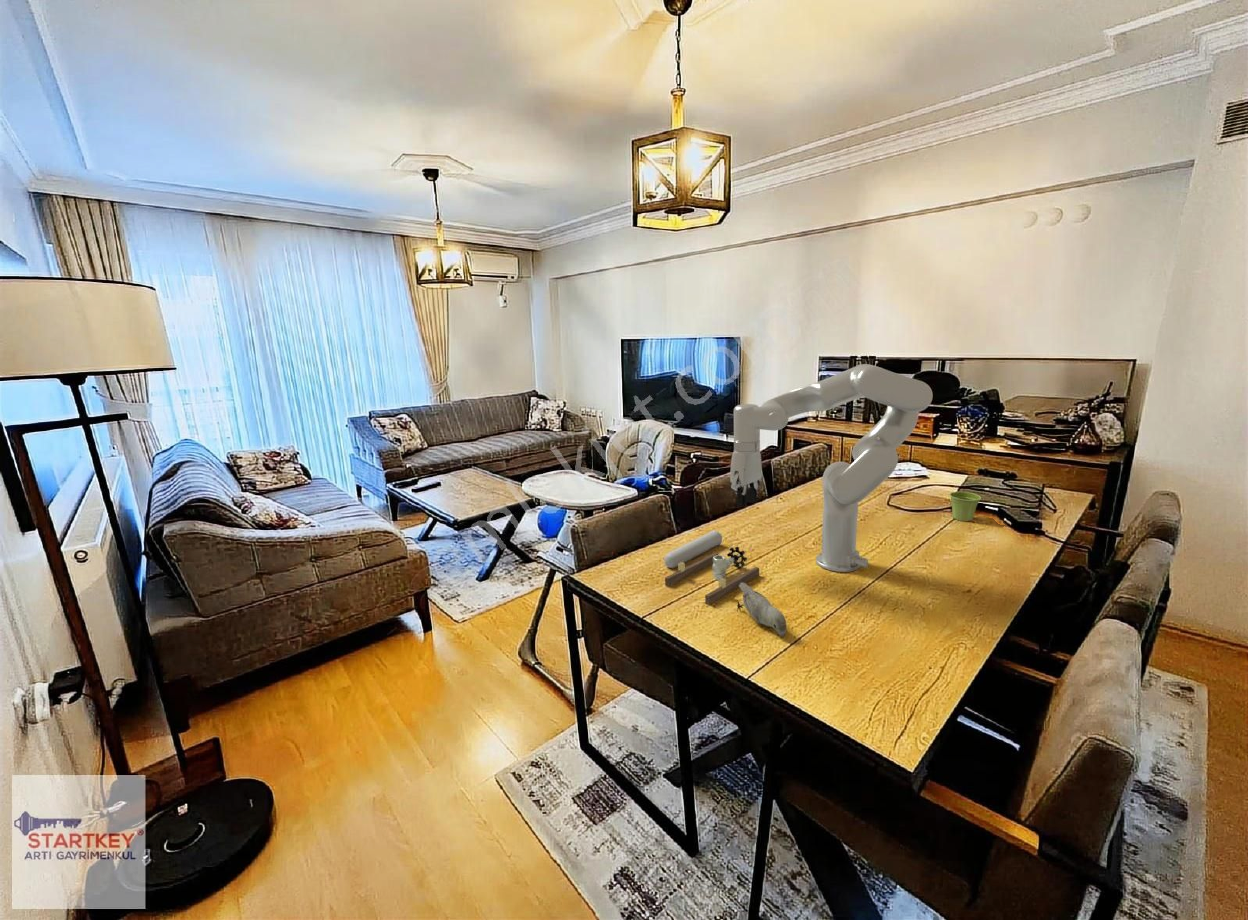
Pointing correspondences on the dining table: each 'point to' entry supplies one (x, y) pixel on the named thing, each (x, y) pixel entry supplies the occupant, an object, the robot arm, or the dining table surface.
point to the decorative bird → (762, 610)
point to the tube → (693, 549)
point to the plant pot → (964, 505)
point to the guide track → (723, 586)
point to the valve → (726, 563)
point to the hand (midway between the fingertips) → (747, 503)
